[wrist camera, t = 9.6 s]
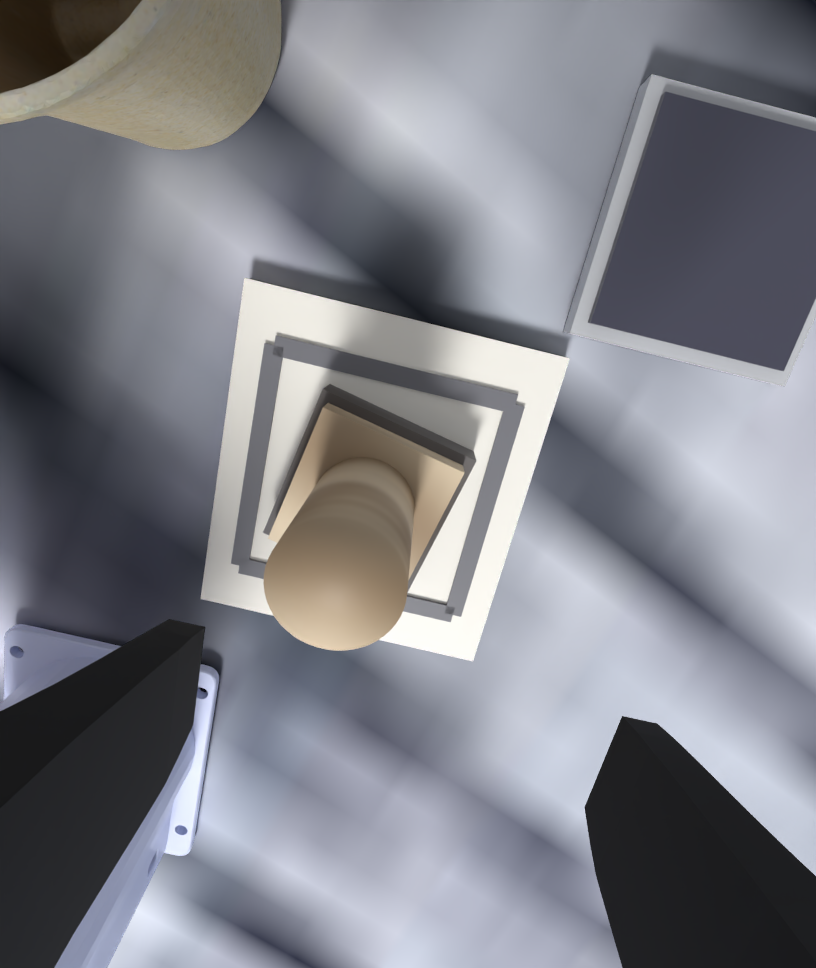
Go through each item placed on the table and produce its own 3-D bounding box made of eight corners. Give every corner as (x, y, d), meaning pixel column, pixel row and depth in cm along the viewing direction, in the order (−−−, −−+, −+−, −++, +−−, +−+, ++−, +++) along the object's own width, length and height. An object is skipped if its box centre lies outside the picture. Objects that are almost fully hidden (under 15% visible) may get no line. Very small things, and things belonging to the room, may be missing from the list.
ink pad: (767, 382, 17) (790, 388, 16) (562, 331, 17) (572, 333, 16) (868, 148, 15) (904, 135, 14) (639, 87, 15) (656, 69, 14)
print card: (471, 651, 21) (473, 662, 20) (207, 590, 20) (199, 600, 20) (565, 357, 17) (570, 358, 17) (250, 279, 17) (243, 277, 16)
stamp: (407, 578, 19) (394, 722, 12) (272, 519, 19) (184, 635, 12) (473, 451, 18) (499, 536, 11) (329, 383, 17) (265, 429, 11)
